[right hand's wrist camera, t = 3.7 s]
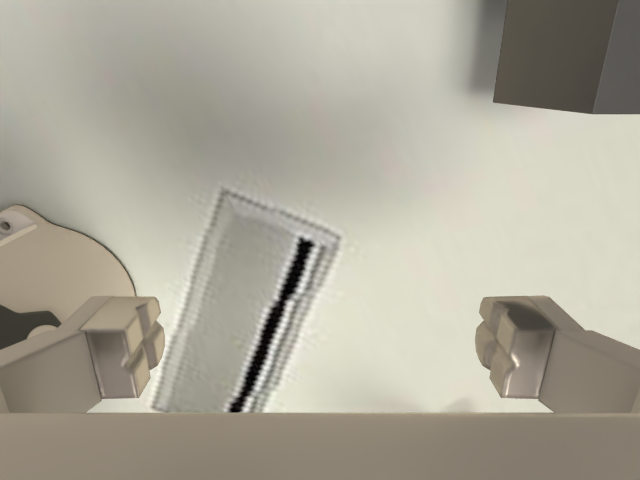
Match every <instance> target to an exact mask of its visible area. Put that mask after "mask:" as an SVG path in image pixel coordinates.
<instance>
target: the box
mask: <svg viewBox="0 0 640 480" xmlns="http://www.w3.org/2000/svg"><path fill="white" fill-rule="evenodd" d="M493 102H494V103H502V104H510V105H519V106H527V107H536V108H544V109H553V110H561V111H570V112H578V113H587V114H640V0H508V2H507V9H506V16H505V23H504V30H503V37H502V44H501V50H500V57H499V64H498V71H497V78H496V85H495V92H494V98H493Z"/></svg>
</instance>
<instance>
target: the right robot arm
mask: <svg viewBox="0 0 640 480" xmlns="http://www.w3.org/2000/svg"><path fill="white" fill-rule="evenodd" d="M6 222H7V223H9V225H10V227H9V226H8V225H7V224H6ZM160 313H161V311H160V306H159V301H158V300H157V299H156V297H141V296H135V292H134V288H133V285H132V282H131V280H130V278H129V276H128V274H127V273H126V271H125V269H124V268H123V267H122V265H121V264H120V263H119V261H118V260H117V259H116V258H115V257H114V256H113V255H112V254H111V253H110V252H109V251H108V250H107V249H105V248H104V247H103V246H102V245H100V244H99V243H97V242H96V241H94V240H92V239H91V238H89V237H87V236H85V235H83V234H80V233H78V232H75V231H73V230H69V229H66V228H63V227H59V226H56V225H54V224H51V223H49V222H48V221H46V220H45V219H43V218H42V217H41V216H39V215H38V214H36V213H35V212H33V211H32V210H30V209H28V208H26V207H24V206H21V205H13V206H11V207H9V208H7V209H5V210H3V211H1V212H0V480H640V350H639V349H636V348H634V347H631V346H629V345H626V344H624V343H621V342H619V341H616V340H614V339H612V338H609V337H607V336H604V335H602V334H599V333H597V332H594V331H585V330H584V329H583V328H582V327H581V326H580V325H579V324H578V323H577V322H576V321H575V320H574V319H572V318H571V317H570V316H569V315H568V314H567V313H566V312H565V311H564V310H563V309H562V308H561V307H560V306H558V305H557V304H556V303H555V302H554V301H553V300H552V299H551V298H550V297H547V296H505V297H485V298H483V300H482V302H481V305H480V310H479V313H480V315H481V316H482V318H483V319H484V321H483V322H482V323H481V324H480V325H479V326H478V327H477V329H476V336H475V344H476V352H477V355H478V358H479V360H480V362H481V364H482V365H483V366H484V367H486V368H487V369H489V370H491V372H490V380H491V381H492V383H493V385H494V386H495V388H496V390H497V392H498V393H499V395H500V397H501V398H526V399H539V400H538V401H540V402H541V403H542V404H544V405H545V406H547V407H548V408H549V409H551V410H552V411H553V412H555V413H86V412H87V411H88V410H90V409H91V408H92V407H94V406H95V405H96V404H98V403H99V402H100V401H101V399H114V398H139V397H140V395H141V393H142V392H143V390H144V388H145V386H146V385H147V383H148V381H149V380H150V372H149V370H151V369H153V368H154V367H156V366H157V365H158V364H159V362H160V360H161V358H162V355H163V351H164V347H165V335H164V329H163V327H162V326H161V325H160V324H159V323H158V322H157V321H156V319H157V318H158V316H159V315H160Z"/></svg>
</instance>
